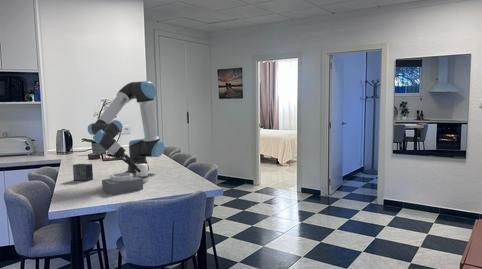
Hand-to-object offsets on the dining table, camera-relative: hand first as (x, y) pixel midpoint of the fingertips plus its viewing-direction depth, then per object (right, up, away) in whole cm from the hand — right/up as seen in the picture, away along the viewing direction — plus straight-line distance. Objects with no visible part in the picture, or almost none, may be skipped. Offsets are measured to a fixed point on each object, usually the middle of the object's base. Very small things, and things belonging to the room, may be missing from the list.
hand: (143, 173), depth 215 cm
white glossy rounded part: (-1, -6, +1) cm, 6 cm away
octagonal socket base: (-6, -7, -19) cm, 21 cm away
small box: (-42, -6, +10) cm, 43 cm away
